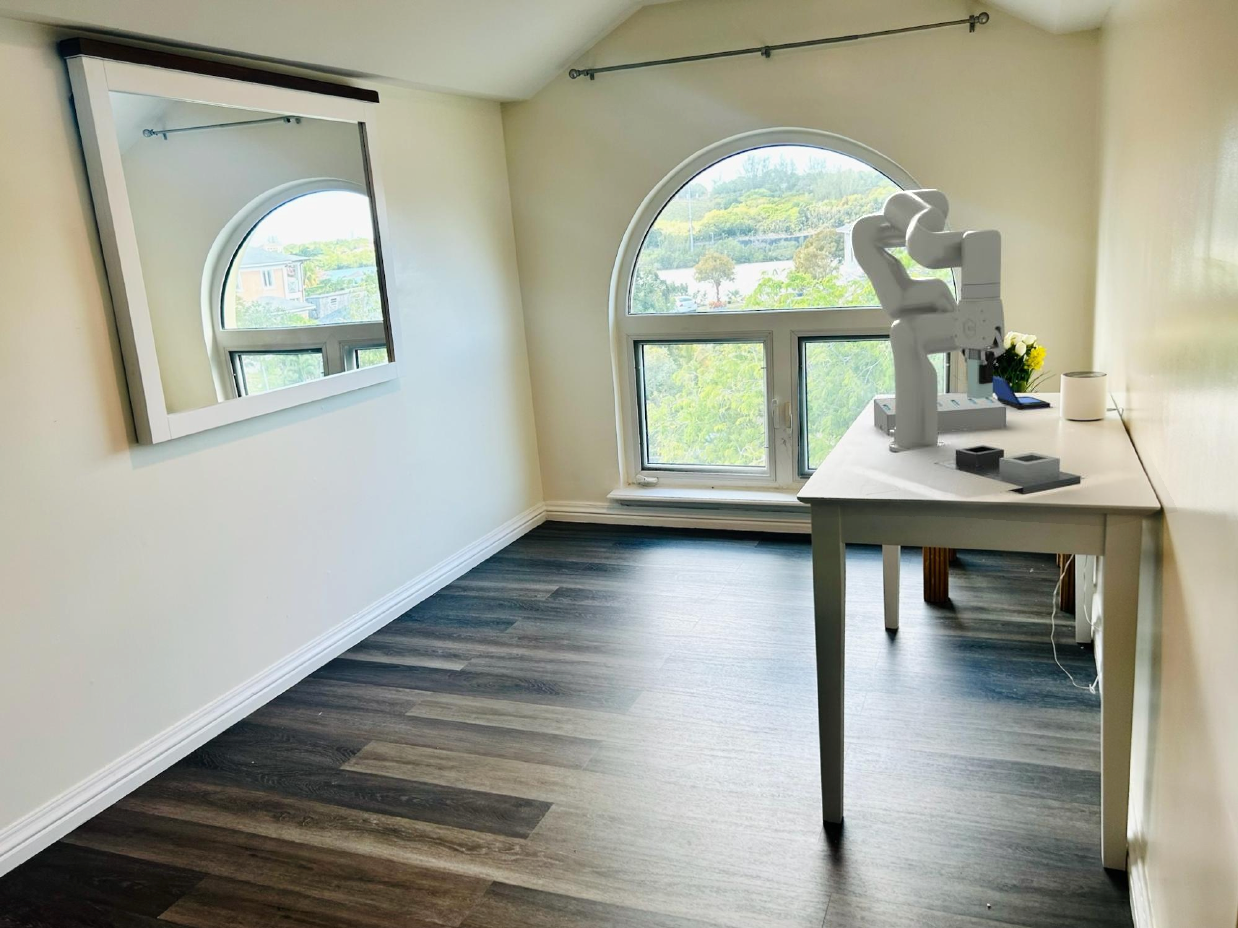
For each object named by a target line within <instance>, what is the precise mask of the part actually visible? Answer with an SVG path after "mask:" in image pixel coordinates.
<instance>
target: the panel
mask: <svg viewBox="0 0 1238 928" xmlns="http://www.w3.org/2000/svg"><path fill="white" fill-rule="evenodd" d="M1060 461H1061V458H1059V457H1054V456H1051V455H1046V454H1042V453H1041V454H1040V453H1035V452H1028V453H1022V454H1017V455H1011V456H1005V449H1002V448H998V447H993V446H989V445H984V444H981V445H975V446H970V447H969V446H968V447H963V448H957V449H955V459H951V460H945V461H940V462H934V463H933V465H938V466H941V467H945V468H949V469H953V470H957V471H960V472H965V473H967V474H970V475H971V474H972V475H975V476H980V477H984V478H987V479H992V480H993V481H994V480H995V481H999V482H1002V483H1007V484H1009V485H1014V486H1018V488H1017V487H1016V488H1012V489H1008V490H1007V491H1009V492H1013V493H1016V494H1020V495H1023V496H1024V495H1029V494H1033V493H1038V492H1044V491H1049V490H1054V489H1060V488H1065V487H1070V486H1076V485H1080V484H1081V482H1082V480H1081V478H1082V476H1081V475H1077V474H1074V473H1068V472H1065V471H1061V470H1060V469H1061V467H1060V466H1061V462H1060Z"/></svg>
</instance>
